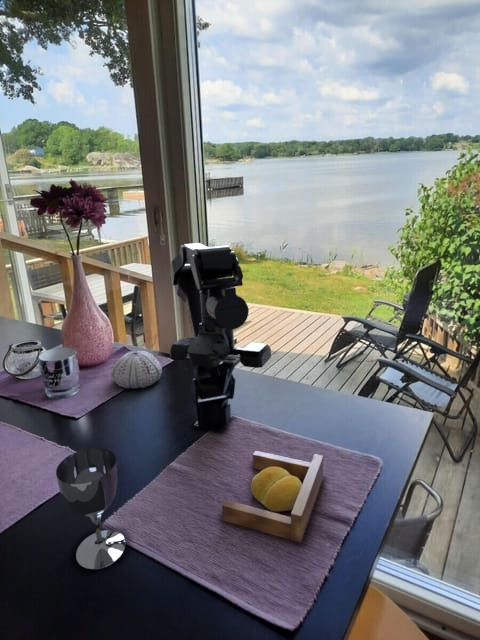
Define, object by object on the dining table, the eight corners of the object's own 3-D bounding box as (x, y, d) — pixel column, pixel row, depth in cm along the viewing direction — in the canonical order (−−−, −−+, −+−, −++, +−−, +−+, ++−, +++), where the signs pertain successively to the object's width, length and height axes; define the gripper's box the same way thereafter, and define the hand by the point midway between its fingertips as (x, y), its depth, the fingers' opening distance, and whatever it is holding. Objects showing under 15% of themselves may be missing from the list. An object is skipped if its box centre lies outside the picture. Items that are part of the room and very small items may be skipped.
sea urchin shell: (165, 368, 125) (163, 342, 122) (160, 391, 112) (157, 362, 110) (118, 370, 124) (115, 344, 122) (107, 394, 112) (103, 365, 109)
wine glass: (80, 530, 69) (65, 449, 64) (132, 526, 70) (120, 445, 65) (66, 574, 62) (47, 486, 57) (123, 569, 62) (110, 481, 57)
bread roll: (280, 522, 70) (280, 501, 68) (243, 492, 76) (243, 473, 75) (315, 497, 74) (315, 478, 73) (278, 471, 81) (277, 453, 80)
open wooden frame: (222, 520, 70) (221, 495, 69) (255, 463, 84) (255, 441, 82) (301, 543, 66) (301, 516, 64) (322, 479, 79) (323, 455, 77)
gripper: (149, 324, 77) (158, 405, 82) (248, 331, 70) (252, 419, 74) (181, 309, 87) (187, 382, 91) (270, 313, 80) (273, 392, 84)
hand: (222, 393), depth 85 cm, fingers closed
